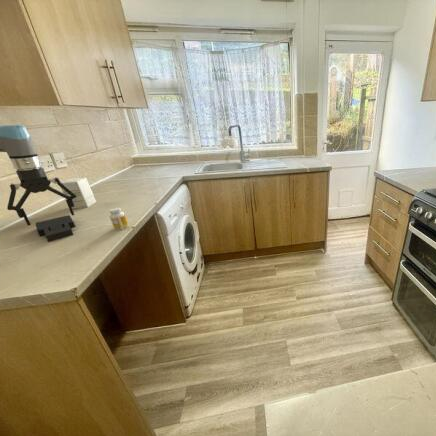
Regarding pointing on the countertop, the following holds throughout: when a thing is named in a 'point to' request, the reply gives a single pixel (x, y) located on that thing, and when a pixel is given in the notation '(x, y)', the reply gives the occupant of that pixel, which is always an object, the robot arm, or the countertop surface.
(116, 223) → the supplement bottle
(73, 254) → the countertop surface
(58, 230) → the black pad
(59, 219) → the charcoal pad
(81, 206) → the rectangular carton
